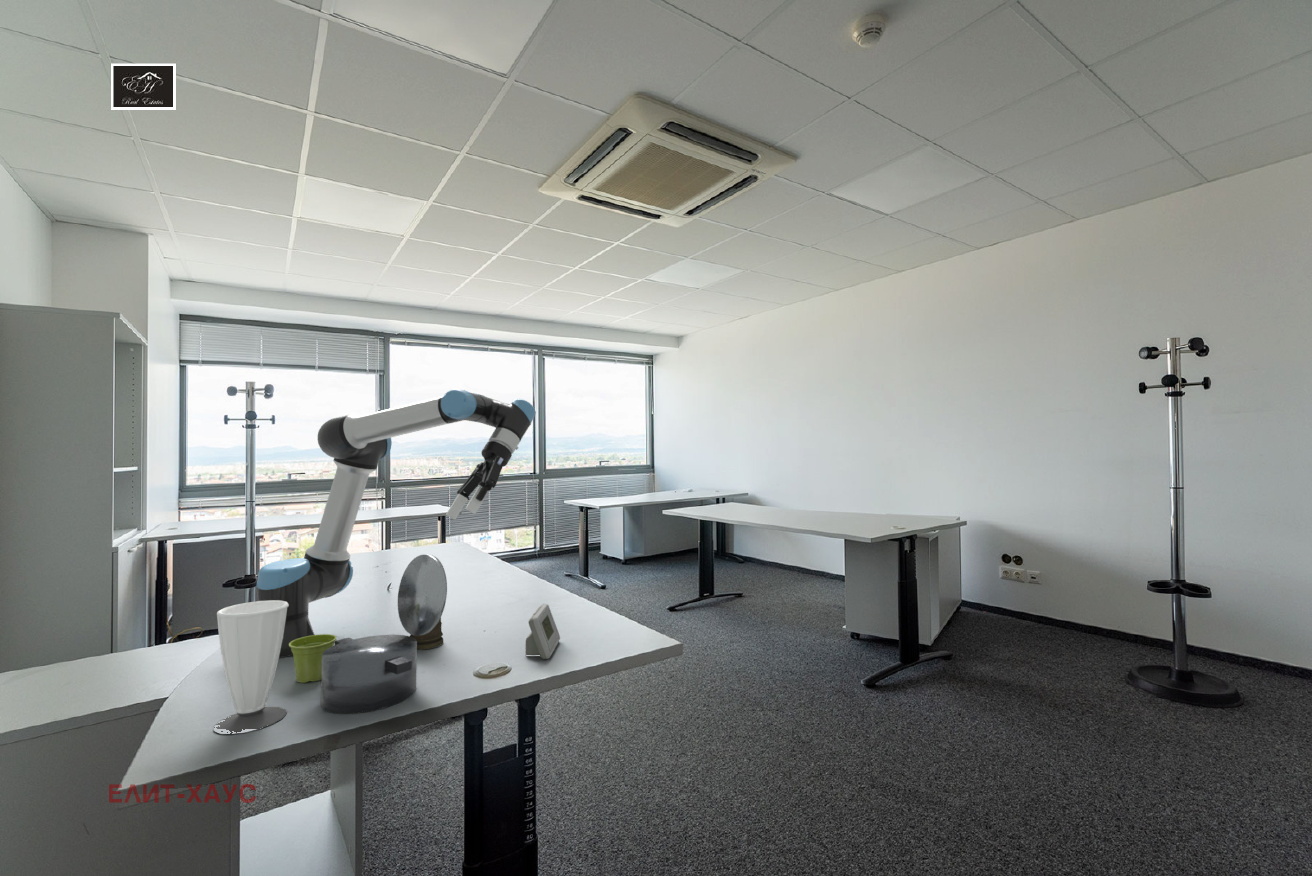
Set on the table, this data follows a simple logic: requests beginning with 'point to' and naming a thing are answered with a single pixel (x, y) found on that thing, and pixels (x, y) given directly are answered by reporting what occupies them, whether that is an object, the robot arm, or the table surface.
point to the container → (430, 638)
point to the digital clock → (542, 633)
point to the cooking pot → (368, 673)
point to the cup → (251, 660)
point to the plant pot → (310, 656)
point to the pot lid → (422, 595)
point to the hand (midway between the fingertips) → (459, 514)
